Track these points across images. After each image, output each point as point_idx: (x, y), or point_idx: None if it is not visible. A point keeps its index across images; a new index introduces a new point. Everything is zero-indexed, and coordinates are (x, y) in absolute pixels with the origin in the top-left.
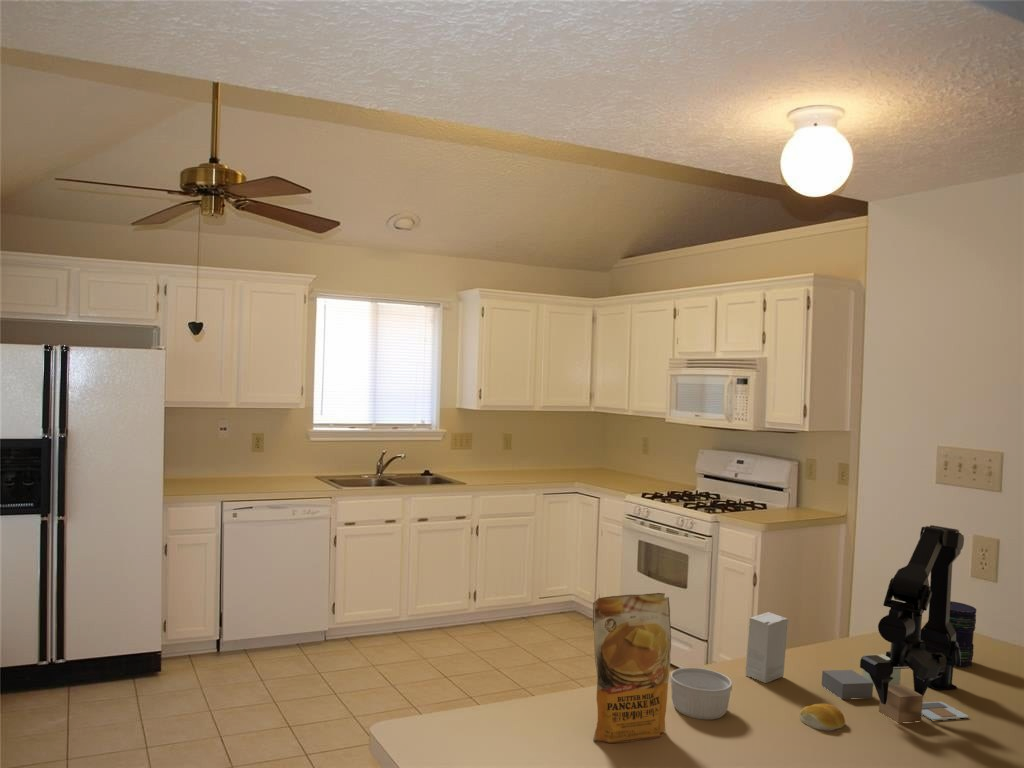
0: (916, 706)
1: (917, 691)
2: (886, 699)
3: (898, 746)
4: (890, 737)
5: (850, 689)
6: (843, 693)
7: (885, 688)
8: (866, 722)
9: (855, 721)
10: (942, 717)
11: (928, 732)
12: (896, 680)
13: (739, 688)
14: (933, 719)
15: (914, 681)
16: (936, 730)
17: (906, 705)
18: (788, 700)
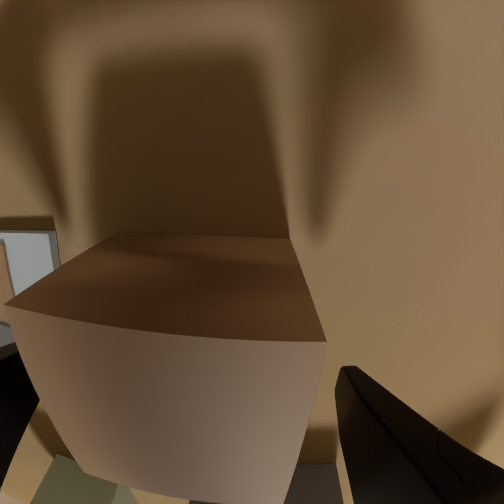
0: (109, 269)
1: (19, 391)
2: (357, 387)
3: (478, 40)
4: (464, 111)
5: (303, 496)
6: (333, 482)
7: (441, 453)
8: (446, 288)
9: (476, 303)
10: (4, 240)
11: (179, 96)
12: (59, 472)
13: (496, 461)
14: (44, 232)
15: (7, 454)
16: (108, 119)
17: (216, 284)
18: (485, 435)
